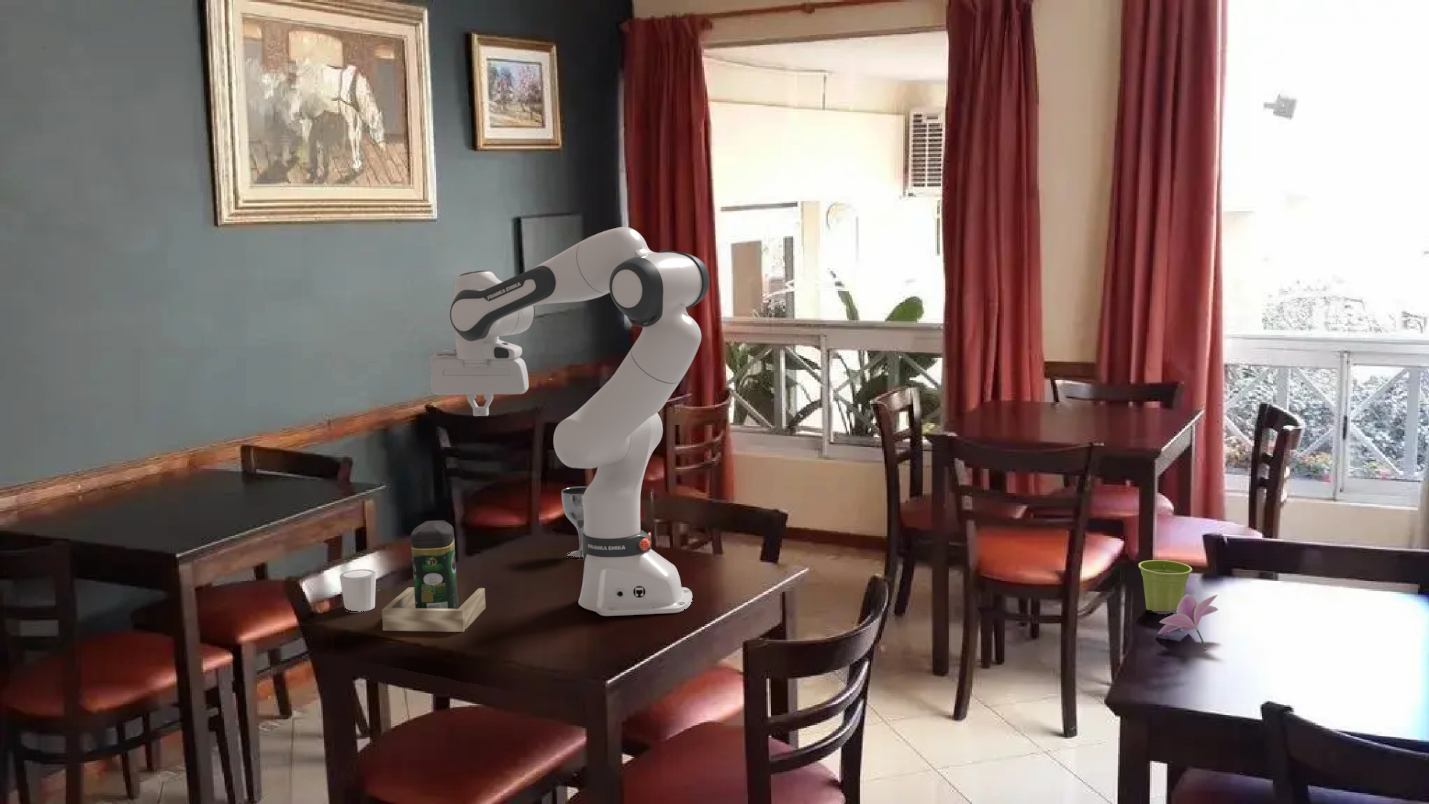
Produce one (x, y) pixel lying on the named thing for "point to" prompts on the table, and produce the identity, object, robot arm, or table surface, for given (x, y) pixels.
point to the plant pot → (1164, 583)
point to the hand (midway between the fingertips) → (481, 415)
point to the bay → (431, 614)
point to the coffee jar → (434, 565)
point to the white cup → (358, 589)
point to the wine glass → (575, 511)
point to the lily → (1188, 615)
